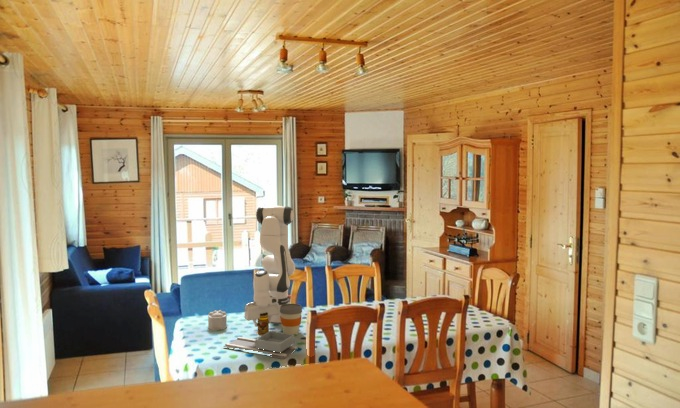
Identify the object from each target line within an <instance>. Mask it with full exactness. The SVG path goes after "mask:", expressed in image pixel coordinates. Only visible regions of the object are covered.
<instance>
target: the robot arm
mask: <svg viewBox="0 0 680 408" xmlns="http://www.w3.org/2000/svg"><path fill="white" fill-rule="evenodd" d="M255 215H256V216H255V217H256V221H257V222H258V223H259V224H260V225H261V226H260V232H259V233H260V235H259V244H260V246H261V248H262V249H263V250H265V251H266V252H268V253H270V254H268V255H265V256H264V257H263V258H262V260H261V267H262V268H263V269H262V270H258V271H256V272H255V273H254V275H253V282H252V283H253V285H252V286H253V287H252V288H253V302H248V303H246V305H244V320H246V321H249V322H250V321H252V322H253V323H254V327H257V328H258V319H259V318H260V314H262V313H266V312H268V318H269V324H271V323H278V324H279V323H280V324H281V318H280V316H281V313H280V306H281V305H284V304H292V303H291V301H290V299H291V298H292V295H289V294H288V290H289V289H290V287H291V286H290V285H291V280H290V276H293V275H294V273H295V270H296V264H295V262H294V261H293V259H292V256H291V253H290V250H289V243H288V242H289V240H288V239H289V238H288V237H289V235H288V234H289V231H288V230H289V229H288V226H289V225H290V224H291V223H293V220H294V218H295V213H294V209H293V208H292V207H290V206H287V205H285V206H284V205H262V206H261V205H260V206H259V207H258V208H257V209H256V213H255Z"/></svg>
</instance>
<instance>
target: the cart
mask: <svg viewBox="0 0 680 408" xmlns="http://www.w3.org/2000/svg"><path fill="white" fill-rule="evenodd" d="M255 340H256V348H259V349H260V350H261V349H264V350H270V351H275V352H278V353H280V352H282V351H283V350H285V349H286V348H288V347H289V346H293V345H294V344H295V335H293V334H287V333H283V332H280V331H274V330H269V332H267V333H266V334H264V335H262V336H259V337H257V338H256V339H255Z"/></svg>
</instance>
